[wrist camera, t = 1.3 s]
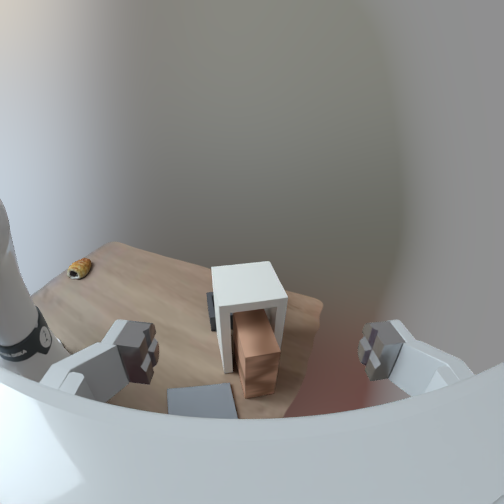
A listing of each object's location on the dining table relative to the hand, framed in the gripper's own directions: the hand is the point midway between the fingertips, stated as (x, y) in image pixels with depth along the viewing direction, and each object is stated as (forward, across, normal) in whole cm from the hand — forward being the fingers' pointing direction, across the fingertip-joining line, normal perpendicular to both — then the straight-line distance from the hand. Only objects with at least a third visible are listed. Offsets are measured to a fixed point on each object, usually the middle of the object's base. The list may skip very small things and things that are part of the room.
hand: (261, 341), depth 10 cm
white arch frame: (+33, 0, -28) cm, 44 cm away
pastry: (+58, -50, -25) cm, 80 cm away
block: (+28, +2, -29) cm, 40 cm away
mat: (+19, -7, -31) cm, 37 cm away
